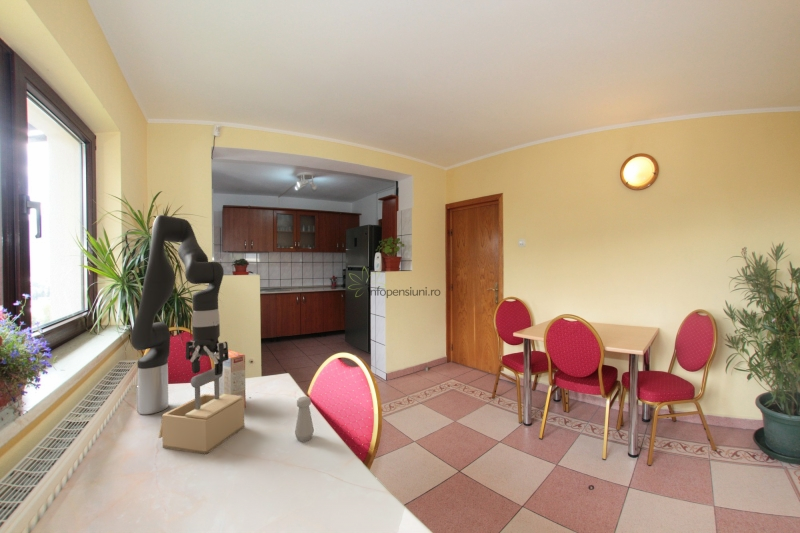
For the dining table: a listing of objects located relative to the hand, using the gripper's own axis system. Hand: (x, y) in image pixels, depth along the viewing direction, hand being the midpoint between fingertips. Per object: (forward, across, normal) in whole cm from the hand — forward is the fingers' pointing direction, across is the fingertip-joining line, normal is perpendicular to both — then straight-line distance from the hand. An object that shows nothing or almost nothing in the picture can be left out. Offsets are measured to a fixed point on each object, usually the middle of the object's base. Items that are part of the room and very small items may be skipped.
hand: (207, 373), depth 104 cm
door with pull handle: (+10, +2, 0) cm, 11 cm away
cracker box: (+21, -10, +21) cm, 31 cm away
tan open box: (+21, -2, 0) cm, 21 cm away
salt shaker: (+21, +31, +6) cm, 38 cm away
